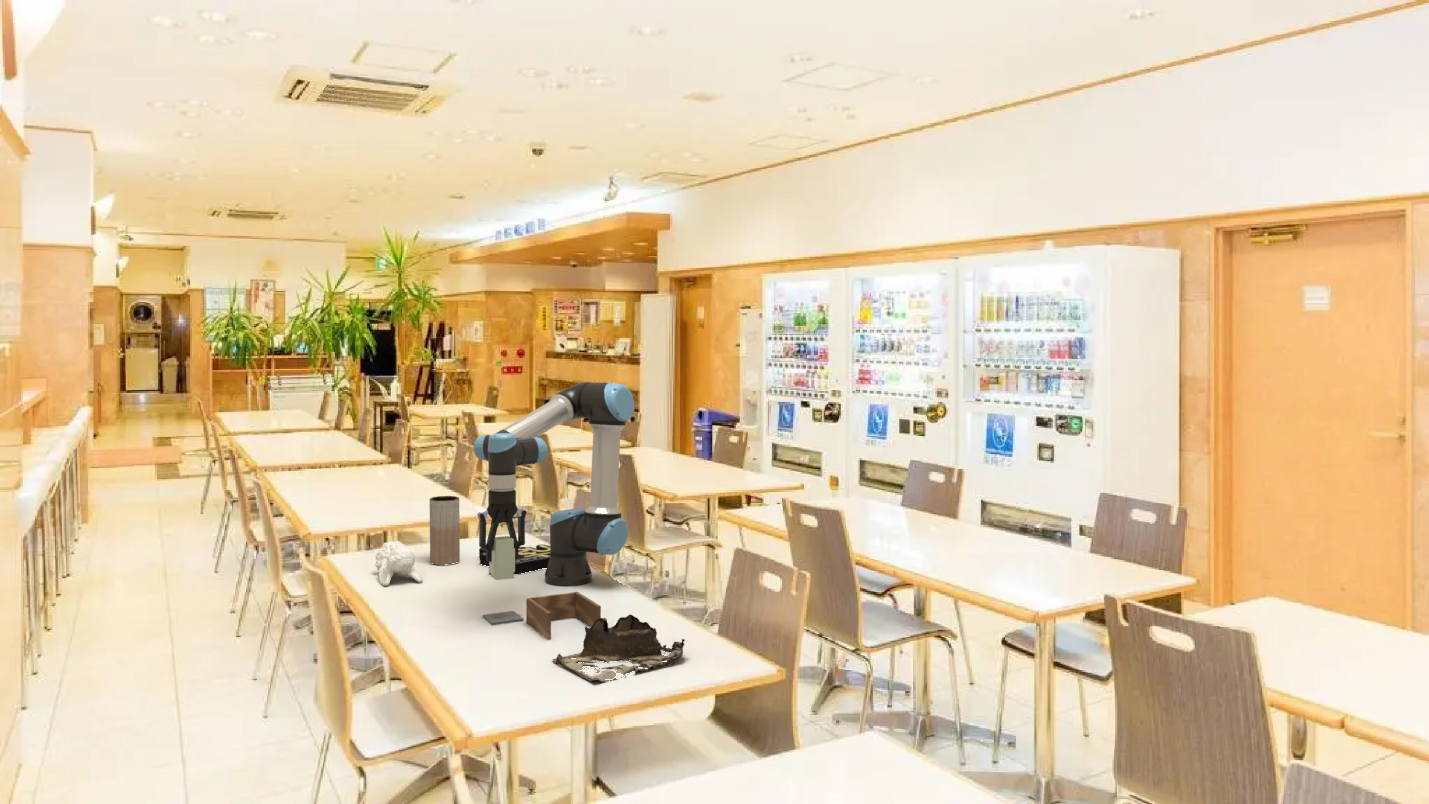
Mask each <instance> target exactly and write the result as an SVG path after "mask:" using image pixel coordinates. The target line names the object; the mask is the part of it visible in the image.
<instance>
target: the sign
mask: <svg viewBox="0 0 1429 804" xmlns="http://www.w3.org/2000/svg"><path fill="white" fill-rule="evenodd" d="M478 554H479V556H478V557H479V558H480V559H479V558H478V559H479V565H480V564H482V565H481V566H483V565H486V566H489V562H488V561H487V560H486V549H482V548H481V547H479V549H478ZM549 560H550V545H548V544H537V545H535V547H532V546H520V547H519V548H518V559H515V572H514V574H518V575H522V574H521V573H524V574H526V573H525V572H529V571H534V572H536V571H535V570H538V569H542V568H547V566H548V563H549ZM486 566H485V567H486ZM529 573H530V572H529ZM488 574H489V575H491V573H490V572H489V571H488Z"/></svg>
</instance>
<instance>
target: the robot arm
mask: <svg viewBox="0 0 1429 804" xmlns="http://www.w3.org/2000/svg"><path fill="white" fill-rule="evenodd" d="M634 412H635V401H634V396H633V394H632V392H631V391H630V389H629V388H628V386H627V385H624V384H622V383H616V382H592V381H591V382H590V381H583V382H580V383H577V384H574V385H571V386H569V387H567V388H565V389H563V390H561V391H559V392H558V393H555V394H554V395H552V396H551V397H550V399H549V400H548V402H547V403H544V404H543V405H541V406H540V407H538V408H536V409H535V410H532V411H531V412H529V413H528V414H526V415H524V416H523V417H521V418H519V419H517V420H516V421H514V422H513V423H511V424H509V425H507V426H506V427H503V428H502V429H500V430H499V431H497V432H495V433H492V434H483V435H479V436H478V437H477V438H476V439H475V440H474V443H473V452H474V455H475V456H476V458H477V459H479V460H481V461H486V462H487V463H488V481H487V483H488V484H487V485H488V489H489V490H488V492H487V495H488V496H487V497H488V502H487V503H488V505H487V508H486V510H485V511H481V512H479V511H478V512H477V518H478V521H479V522H478V524H479V527H478V529H479V530H478V531H479V532H478V547H479V548H482V549H486V560H487V561H488V562H489V567H488V573H489V572H490V573H491V574H495V550H493V549H492V548H493V544H494V540H495V537H497V536H496V535H497V531H498V527H499V525H500V524H502V523H505V524H506V527H507V531H508V536H509V537H511V538H513V539H514V572H515V559H518V548H519V547H523V546H525V544H526V530H525V529H526V523H525V521H526V520H525V519H526V516H527V510H525V509H522V508H521V509H520V508H518V506H517V504H516V503H517V491H516V487H517V467H519V466H528V465H536V464H539V463H542V462H543V461H544V460H545V459H546V458H547V456H548V447H547V446H548V445H547V443H546V442H545V440H544V439H542V438H541V437H539V436H541V435H544V434H545V433H547V432H548V431H550V430H551V429H554V427H557V426H558V425H559V424H562V423H569V422H571V421H572V420H576V419H588V426H590V428H591V429H592V430H593V431H592V434H593V435H592V436H593V437H592V452H591V453H592V454H591V456H592V457H591V471H590V473H591V475H590V492H589V493H590V494H589V506H588V507H586V508H570V509H562V510H558V511H554V512H552V514H551V515H550V521H549V540H550V541H549V544H550V545H549V546H550V560H549V563H548V566H547V569H545V570H546V571H545V572H544V573H545V574H544V582H545V583H547V584H549V585H553V586H561V585H571V586H580V585H584V584H588V583H590V582H592V580H593V573H592V572H593V571H592V569H591V566H590V563H589V560H588V557H587V556H588V555H587V552H588V553H593V554H599V555H602V556H603V555H604V556H605V555H607V556H613V555H616V554H618V553H619V552H620V551H622V549H623V548H624V547H625V545H626V543H627V541H628V536H629V526H628V524H627V522H626V520H625V519H623V518H622V510H620V508H619V507H618V495H619V493H618V492H619V491H618V490H619V471H620V470H619V469H620V452H621V432H622V430H623V429H624V428H625V427H626V426H627V425H626V423H627V421H628V420H630V419H631V418H632V417H633V416H632V415H633V414H634ZM515 515H517V533H516V529H515V526H514V520H513V518H514V517H515ZM488 516H489V517H490V519H491V522H490V529H489V531H488V536H487V519H488Z"/></svg>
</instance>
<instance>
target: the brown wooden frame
mask: <svg viewBox="0 0 1429 804" xmlns="http://www.w3.org/2000/svg"><path fill="white" fill-rule="evenodd" d="M525 600H526V601H525V602H526V603H525V604H526V605H525V606H526V607H525V608H526V609H525V613H526V624H527V625H528V626H529V627H530V628H532V629H533V630H535V631H536V632H537V633H538V632H539V633H538V634H539V635H541V636H542V635H543V636H544V637H543V636H542V637H543V638H545V639H546V638H547V639H549V640H552V622H553V621H557V620H564V619H566V618H567V619H575V618H576V619H577V620H579V621H580V620H581V621H580V622H581V623H583V624H584V623H585V626H587V627H589V626H590V627H592V625H593V623H594V621H596V620H597V619H599V618H602V613H601V612H602V606H601V605H599V604H598V603H596V602H595V601H593V600H592V599H590V598H589V597H587V596H585V595H584V594H582V593H580V592H578V591H572V592H565V593H558V594H550V595H549V594H547V595H541V596H534V597H533V596H532V597H527V598H526V599H525ZM552 620H553V621H552ZM590 627H589V628H590ZM547 639H546V640H547Z"/></svg>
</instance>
